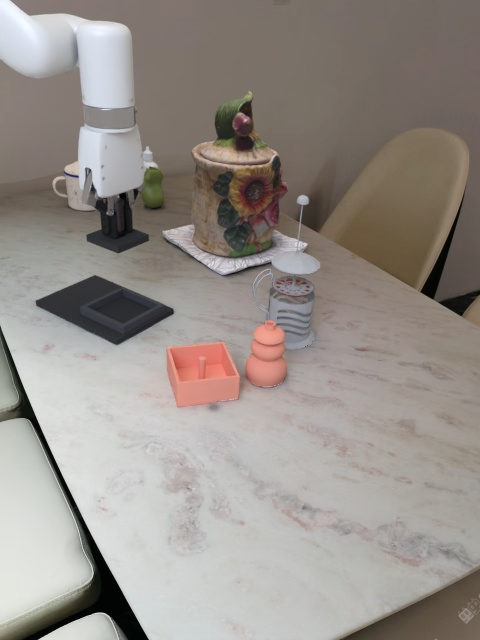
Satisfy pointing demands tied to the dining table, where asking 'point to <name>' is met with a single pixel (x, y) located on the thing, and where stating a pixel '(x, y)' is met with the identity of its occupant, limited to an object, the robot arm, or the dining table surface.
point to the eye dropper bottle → (148, 159)
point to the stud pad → (118, 241)
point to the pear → (153, 188)
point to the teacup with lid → (73, 188)
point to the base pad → (105, 308)
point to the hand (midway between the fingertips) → (117, 232)
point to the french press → (292, 294)
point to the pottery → (225, 367)
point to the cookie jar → (235, 197)
